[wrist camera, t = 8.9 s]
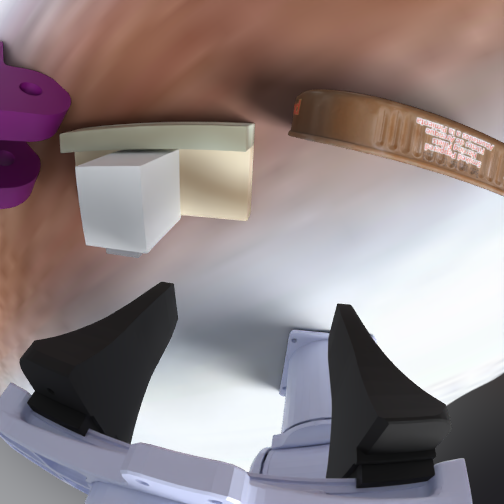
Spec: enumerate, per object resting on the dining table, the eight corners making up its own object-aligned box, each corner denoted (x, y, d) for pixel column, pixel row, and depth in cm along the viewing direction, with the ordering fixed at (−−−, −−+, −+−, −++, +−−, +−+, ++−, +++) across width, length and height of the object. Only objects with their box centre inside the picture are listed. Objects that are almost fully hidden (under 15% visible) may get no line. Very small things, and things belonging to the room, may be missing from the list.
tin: (290, 133, 20) (282, 151, 12) (296, 88, 18) (293, 76, 11) (479, 183, 18) (544, 226, 11) (489, 145, 17) (559, 173, 9)
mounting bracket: (15, 105, 27) (40, 206, 23) (-40, 100, 19) (-41, 212, 16) (47, 40, 22) (81, 120, 19) (-12, 27, 15) (-19, 109, 12)
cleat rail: (250, 213, 22) (242, 230, 20) (90, 201, 24) (68, 215, 21) (254, 123, 19) (246, 126, 17) (84, 127, 21) (59, 133, 18)
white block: (181, 228, 22) (148, 265, 17) (128, 223, 23) (88, 256, 18) (179, 149, 19) (140, 166, 15) (122, 149, 20) (75, 166, 15)
